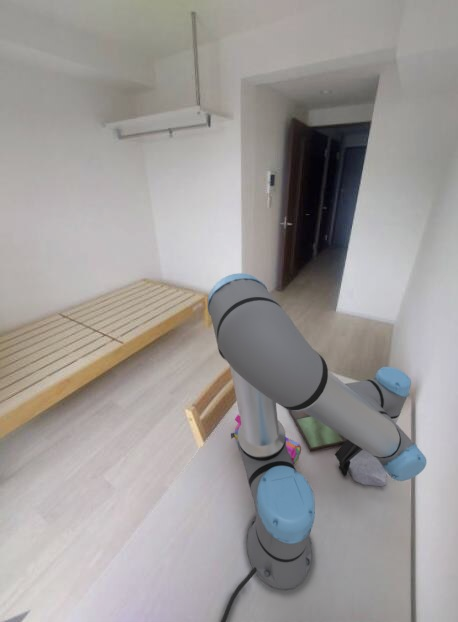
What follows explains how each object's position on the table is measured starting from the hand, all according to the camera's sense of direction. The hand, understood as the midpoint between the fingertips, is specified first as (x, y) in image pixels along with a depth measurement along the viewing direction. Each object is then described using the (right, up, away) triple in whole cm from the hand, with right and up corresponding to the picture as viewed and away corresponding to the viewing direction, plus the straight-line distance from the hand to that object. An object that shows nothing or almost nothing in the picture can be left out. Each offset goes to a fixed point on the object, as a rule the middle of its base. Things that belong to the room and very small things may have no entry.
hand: (362, 466), depth 82 cm
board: (-5, +9, +17) cm, 20 cm away
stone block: (0, 0, 0) cm, 1 cm away
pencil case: (-29, +2, +6) cm, 30 cm away
